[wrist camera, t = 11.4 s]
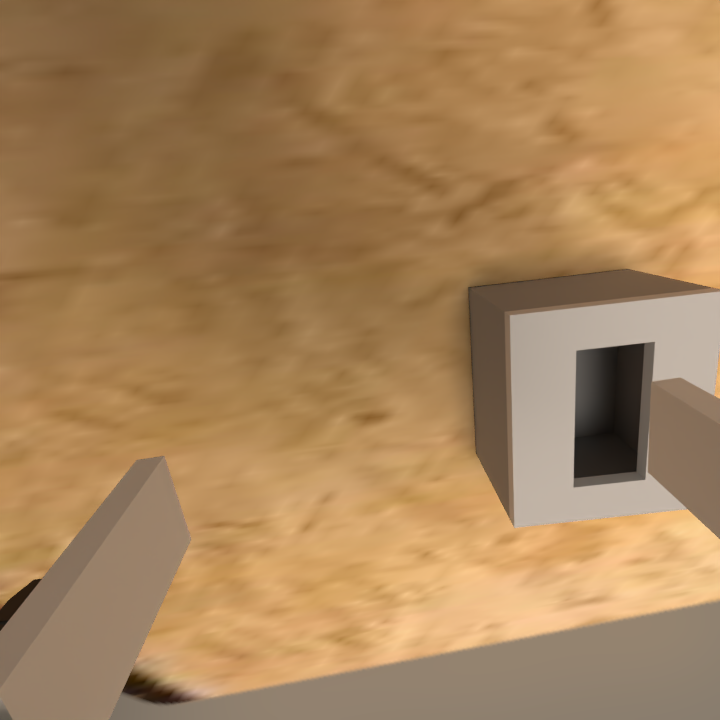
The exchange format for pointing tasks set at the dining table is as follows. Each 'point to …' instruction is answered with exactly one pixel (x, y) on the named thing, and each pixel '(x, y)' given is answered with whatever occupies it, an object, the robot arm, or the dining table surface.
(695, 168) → the dining table surface
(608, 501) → the box with rectangular hole
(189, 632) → the dining table surface
